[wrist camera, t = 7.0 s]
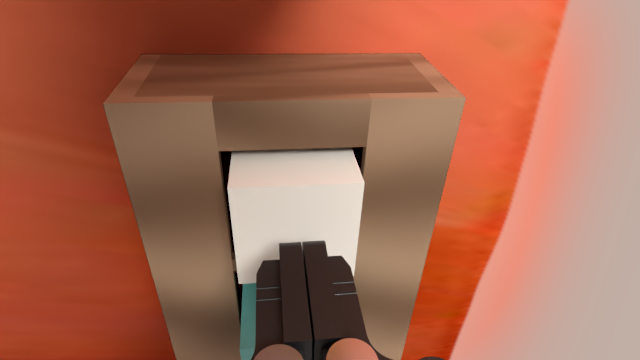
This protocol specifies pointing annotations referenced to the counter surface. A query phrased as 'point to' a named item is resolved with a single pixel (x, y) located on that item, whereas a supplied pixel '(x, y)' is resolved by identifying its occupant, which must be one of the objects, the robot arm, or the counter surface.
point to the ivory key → (293, 203)
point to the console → (270, 134)
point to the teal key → (248, 321)
